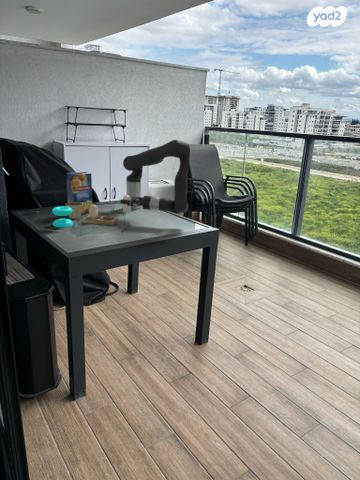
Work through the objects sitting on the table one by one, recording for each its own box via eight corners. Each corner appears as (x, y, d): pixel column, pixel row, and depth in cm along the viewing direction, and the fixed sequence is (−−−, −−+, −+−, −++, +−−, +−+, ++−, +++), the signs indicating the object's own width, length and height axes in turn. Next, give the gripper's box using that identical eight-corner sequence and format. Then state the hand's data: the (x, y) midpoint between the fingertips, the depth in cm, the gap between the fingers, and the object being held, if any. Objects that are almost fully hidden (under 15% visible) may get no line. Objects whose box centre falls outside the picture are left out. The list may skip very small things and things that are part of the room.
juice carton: (74, 216, 214) (72, 174, 207) (68, 213, 220) (66, 173, 212) (92, 213, 222) (91, 173, 215) (86, 210, 227) (85, 171, 220)
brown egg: (91, 219, 205) (90, 203, 202) (99, 220, 205) (98, 204, 202) (87, 221, 201) (87, 205, 198) (95, 222, 200) (95, 205, 197)
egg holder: (89, 220, 208) (89, 214, 207) (117, 222, 205) (117, 217, 204) (82, 224, 200) (82, 218, 199) (112, 227, 197) (111, 221, 196)
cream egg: (124, 210, 208) (124, 193, 205) (132, 210, 208) (132, 194, 205) (121, 212, 204) (121, 195, 201) (129, 212, 203) (129, 196, 200)
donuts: (47, 208, 188) (59, 204, 197) (49, 227, 191) (60, 222, 200) (64, 211, 185) (76, 207, 194) (65, 230, 188) (76, 225, 197)
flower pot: (75, 215, 215) (74, 201, 213) (87, 218, 211) (86, 203, 208) (62, 219, 208) (61, 204, 205) (74, 221, 203) (74, 206, 200)
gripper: (155, 194, 207) (126, 191, 210) (148, 199, 194) (117, 196, 196) (154, 206, 210) (126, 204, 212) (148, 213, 196) (117, 209, 199)
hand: (122, 200), depth 204 cm, fingers closed on cream egg, 4 cm apart
